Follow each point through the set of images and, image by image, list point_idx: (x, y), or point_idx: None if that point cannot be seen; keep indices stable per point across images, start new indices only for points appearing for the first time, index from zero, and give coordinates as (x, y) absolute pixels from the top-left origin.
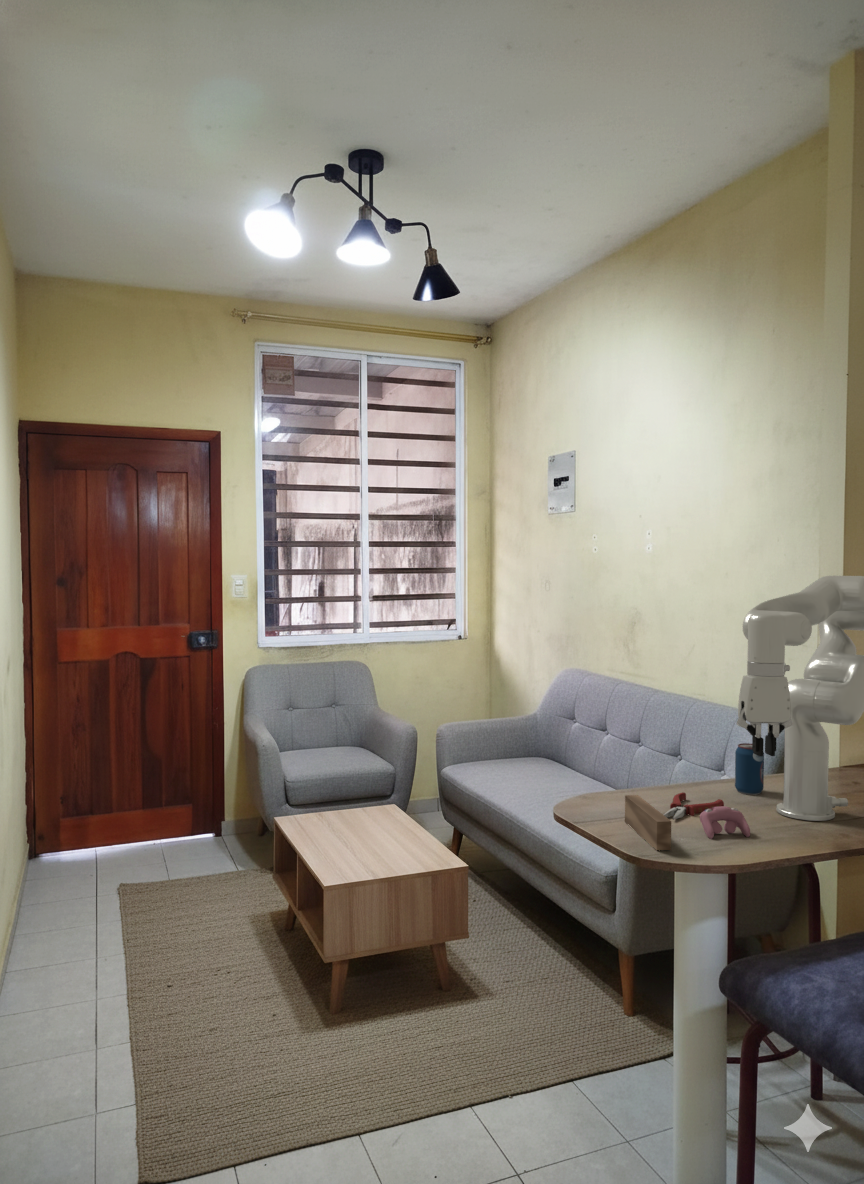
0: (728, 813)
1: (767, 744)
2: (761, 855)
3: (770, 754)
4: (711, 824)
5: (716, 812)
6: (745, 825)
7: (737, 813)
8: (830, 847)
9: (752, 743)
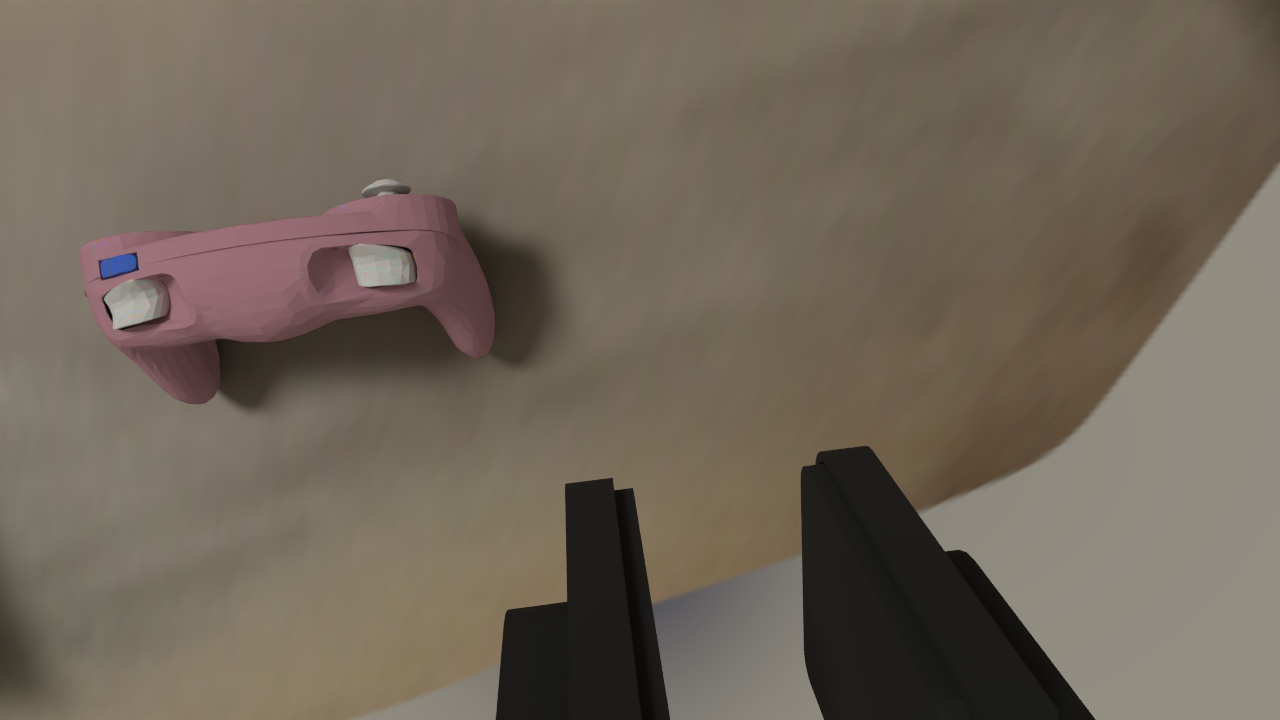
0: (312, 329)
1: (865, 667)
2: (456, 628)
3: (807, 650)
4: (182, 365)
5: (200, 338)
6: (457, 341)
7: (398, 306)
8: (912, 484)
9: (497, 716)
